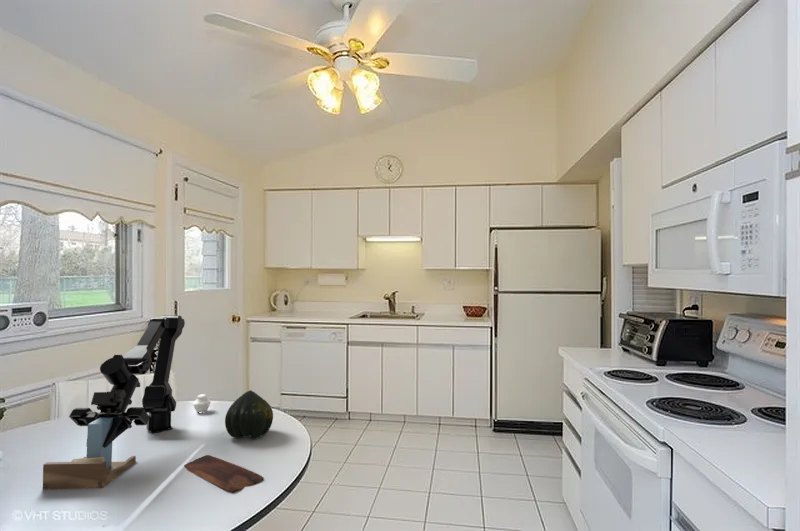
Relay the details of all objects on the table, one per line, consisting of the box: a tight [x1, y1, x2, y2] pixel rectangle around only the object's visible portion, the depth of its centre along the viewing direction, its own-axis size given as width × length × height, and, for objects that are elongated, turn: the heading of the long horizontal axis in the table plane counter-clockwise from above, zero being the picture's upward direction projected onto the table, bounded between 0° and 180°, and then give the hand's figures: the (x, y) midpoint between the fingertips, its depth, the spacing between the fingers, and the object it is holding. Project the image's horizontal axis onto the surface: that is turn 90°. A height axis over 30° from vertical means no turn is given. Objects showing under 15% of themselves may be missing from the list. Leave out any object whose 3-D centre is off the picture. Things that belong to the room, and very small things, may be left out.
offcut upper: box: [70, 457, 104, 462], centre depth 108 cm, size 4×7×2 cm, turn 102°
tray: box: [42, 455, 137, 491], centre depth 112 cm, size 15×14×7 cm
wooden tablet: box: [183, 454, 264, 494], centre depth 116 cm, size 26×2×10 cm
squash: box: [224, 389, 274, 440], centre depth 143 cm, size 14×15×15 cm
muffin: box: [192, 393, 211, 413], centre depth 165 cm, size 6×6×7 cm
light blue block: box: [86, 418, 113, 469], centre depth 114 cm, size 5×4×13 cm
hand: (96, 447), depth 113 cm, fingers closed on light blue block, 4 cm apart
